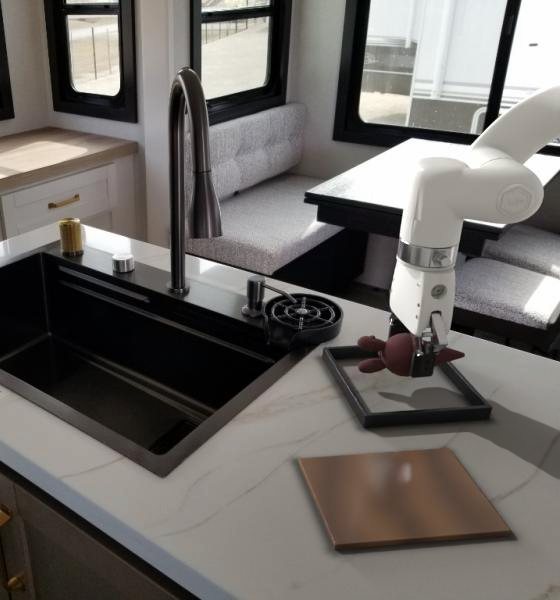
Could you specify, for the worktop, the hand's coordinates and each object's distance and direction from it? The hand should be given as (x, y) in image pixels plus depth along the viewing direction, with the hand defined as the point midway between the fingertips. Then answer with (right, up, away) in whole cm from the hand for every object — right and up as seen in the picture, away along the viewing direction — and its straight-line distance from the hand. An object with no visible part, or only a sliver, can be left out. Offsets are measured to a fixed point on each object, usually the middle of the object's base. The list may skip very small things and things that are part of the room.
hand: (408, 360), depth 95 cm
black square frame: (-1, -4, +2) cm, 5 cm away
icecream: (0, -2, +1) cm, 3 cm away
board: (-9, -15, -18) cm, 25 cm away
